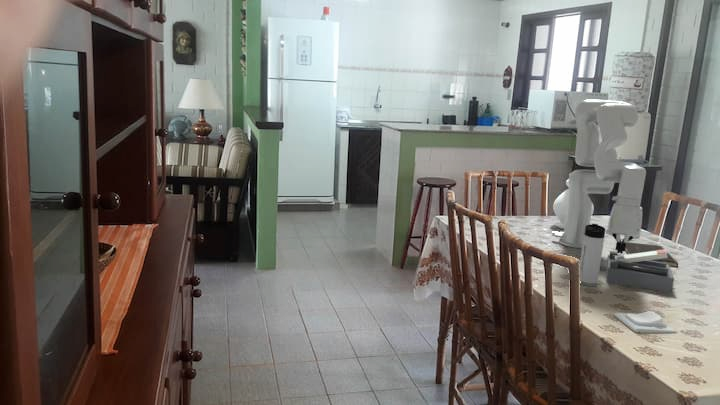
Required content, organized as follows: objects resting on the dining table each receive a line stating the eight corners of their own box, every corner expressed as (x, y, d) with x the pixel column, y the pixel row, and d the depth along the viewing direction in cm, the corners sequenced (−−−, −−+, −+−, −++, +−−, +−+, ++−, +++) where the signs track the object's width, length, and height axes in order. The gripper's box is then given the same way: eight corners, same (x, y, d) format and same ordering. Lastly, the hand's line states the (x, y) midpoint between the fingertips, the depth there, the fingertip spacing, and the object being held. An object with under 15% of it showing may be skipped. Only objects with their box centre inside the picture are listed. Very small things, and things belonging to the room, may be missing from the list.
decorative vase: (547, 220, 279) (554, 170, 274) (585, 224, 277) (593, 173, 271) (554, 230, 262) (561, 176, 256) (595, 233, 260) (603, 179, 254)
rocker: (616, 264, 199) (615, 259, 199) (616, 260, 203) (615, 255, 203) (667, 257, 192) (666, 252, 192) (666, 253, 197) (665, 248, 197)
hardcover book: (632, 262, 221) (633, 257, 221) (620, 246, 243) (621, 241, 242) (677, 268, 218) (678, 262, 217) (661, 251, 239) (662, 246, 239)
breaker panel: (606, 281, 196) (609, 262, 195) (605, 268, 211) (608, 250, 209) (671, 292, 189) (675, 272, 187) (666, 278, 203) (669, 259, 202)
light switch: (680, 323, 157) (637, 320, 156) (677, 337, 158) (634, 334, 156) (656, 307, 168) (616, 304, 166) (653, 320, 169) (613, 317, 167)
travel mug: (596, 281, 196) (605, 224, 191) (597, 287, 190) (606, 229, 185) (577, 278, 198) (585, 222, 193) (577, 284, 192) (586, 226, 187)
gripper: (605, 200, 196) (596, 251, 200) (653, 207, 190) (643, 259, 195) (605, 196, 202) (597, 246, 207) (651, 202, 197) (642, 253, 201)
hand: (619, 252), depth 201 cm, fingers closed
